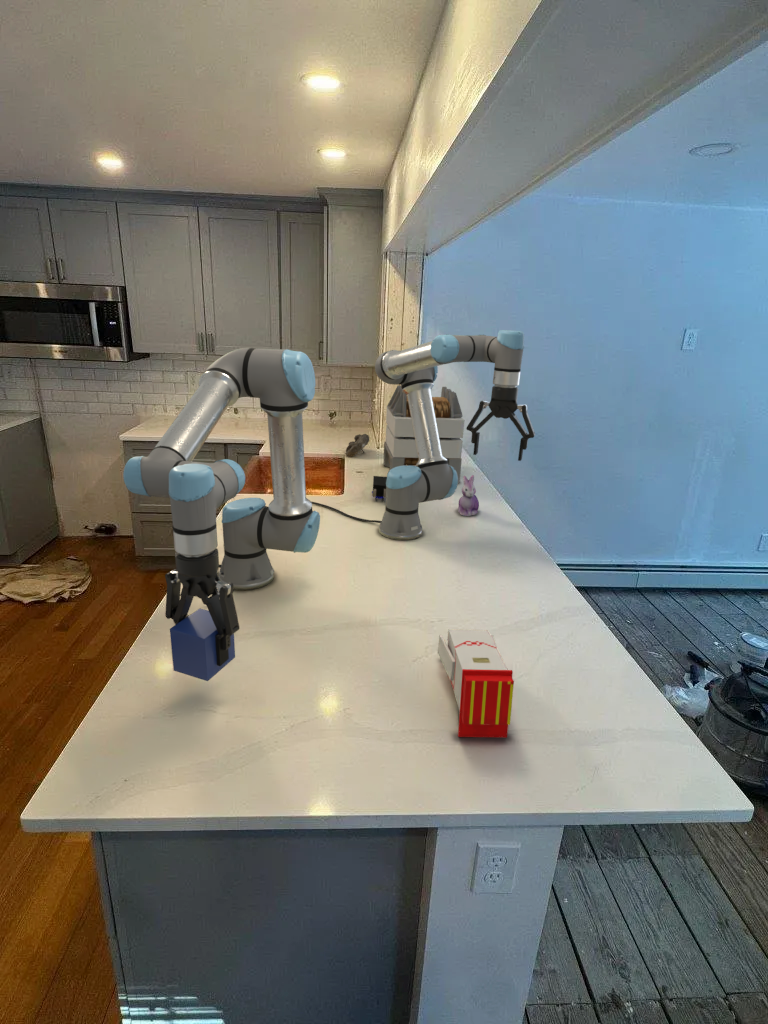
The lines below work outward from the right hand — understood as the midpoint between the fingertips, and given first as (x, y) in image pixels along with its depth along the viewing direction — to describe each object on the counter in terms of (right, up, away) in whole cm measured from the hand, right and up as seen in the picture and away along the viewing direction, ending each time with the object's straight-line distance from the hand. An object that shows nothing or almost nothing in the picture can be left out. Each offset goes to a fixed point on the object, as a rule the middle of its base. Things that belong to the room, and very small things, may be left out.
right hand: (497, 456), depth 172 cm
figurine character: (-36, -11, +65) cm, 75 cm away
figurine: (-1, -17, +51) cm, 54 cm away
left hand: (-70, -45, -62) cm, 103 cm away
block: (-70, -47, -61) cm, 104 cm away
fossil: (-49, +15, +135) cm, 144 cm away
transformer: (-17, +2, +102) cm, 104 cm away
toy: (-17, -54, -54) cm, 78 cm away
